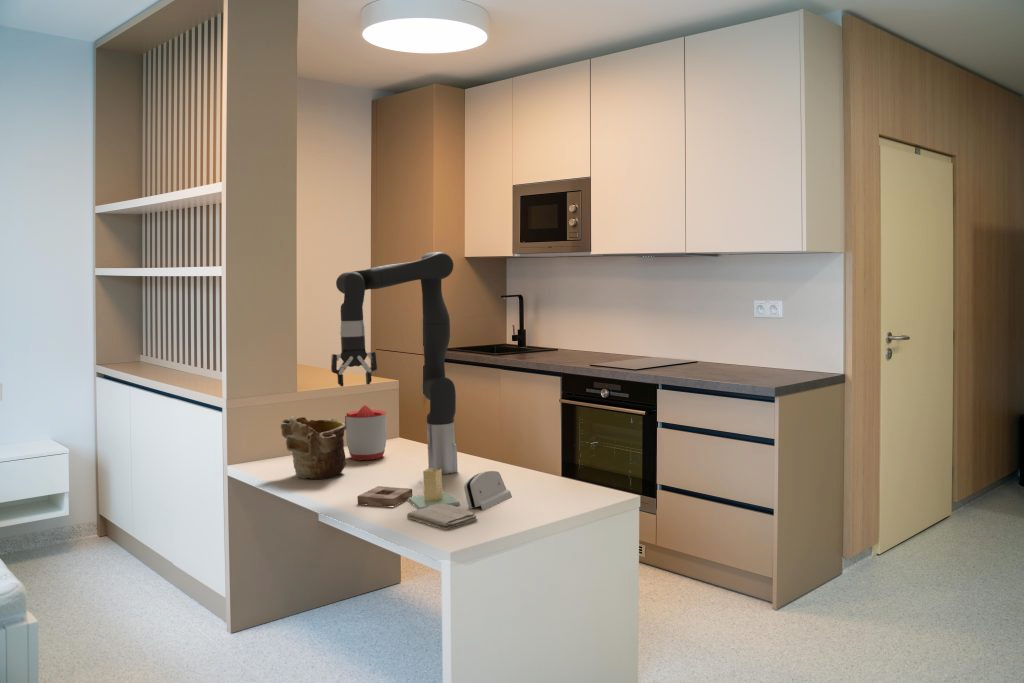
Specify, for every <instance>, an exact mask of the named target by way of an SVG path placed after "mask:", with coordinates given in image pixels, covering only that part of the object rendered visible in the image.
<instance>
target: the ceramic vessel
mask: <svg viewBox="0 0 1024 683" xmlns="http://www.w3.org/2000/svg"><path fill="white" fill-rule="evenodd" d="M345 428H346V424H345V423H344V422H343V421H339V420H338V419H334V418H329V419H328V418H325V419H322V418H321V419H316V420H315V419H310V420H308V419H307V418H306V417H304V416H302V417H295V415H294V416H293V415H292V416H291V417H290V418H288V419H283V420H282V421H281V423H280V430H281V436H282V437H283V438H284V439H286V440H285V441H286V442H285V445H286V450H287V451H289V452H292V462H293V468H294V470H295V471H294V472H295V474H296V475H297V477H298V478H300V479H307V478H310V479H309V480H312V479H313V480H314V479H316V480H321V479H322V478H326V479H329V478H333V477H335V476H337V475H340V474H341V473H342V472H343V471H344V469H345V467H346V464H347V460H346V453H345V448H344V447H345V446H344V445H345V443H344V440H345V439H344V436H345V432H346V429H345ZM322 480H323V479H322Z"/></svg>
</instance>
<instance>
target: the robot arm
mask: <svg viewBox="0 0 1024 683" xmlns="http://www.w3.org/2000/svg"><path fill="white" fill-rule="evenodd" d="M453 261H454V260H453V259H452V257H451V256H450V255H449V254H447V253H445V252H441V251H435V252H434V251H433V252H428V253H425V254H423V255H422V257H421V258H420V259H418V260H414V261H408V262H402V263H399V262H398V263H393V264H384V265H380V266H375V267H370V268H368V269H367V268H366V269H362V270H353V271H346V272H343V273H341V274H340V275H339V276H338V277H337V279H336V282H335V284H336V289H337V290H338V291H339V292H340V293H341V294H344V295H343V296H344V297H343V298H344V299H343V303H342V304H340V331H339V333H340V342H341V344H340V345H341V348H340V349H341V351H340V352H341V353H340V354H339V353H338V354H335V353H332V354H331V361H330V362H331V364H330V365H331V366H330V367H331V369H330V371H331V373H333V374H335V375H336V376H337V384H338V385H339V386H340V387H344V375H343V374H344V372H345V370H346V369H347V368H348V367H350V368H352V367H360V366H361V367H362V368H363V369H364V371H365V384H366V385H370V384H371V383H372V379H373V378H372V372H375V371H377V369H378V363H377V354H376V352H375V351H369V352H367V351H366V337H365V336H366V335H365V334H366V332H365V323H364V322H365V321H364V310H363V307H364V306H363V305H364V301H365V295H366V294H365V292H366V291H367V290H368V291H369V290H378V289H379V290H380V289H383V288H389V287H392V286H396V285H401V284H404V283H405V284H406V283H410V282H413V281H420V284H421V296H422V300H421V302H422V303H421V304H422V305H421V306H422V338H423V359H424V364H423V376H422V378H423V379H422V392H423V395H424V397H425V399H427V400H429V413H428V414H427V415H426V432H427V433H426V434H427V456H428V458H427V460H428V461H427V462H428V464H427V465H428V468H438V469H441V470H442V474H444V475H450V474H449V473H451V474H454V473H457V472H456V471H458V446H457V445H458V444H456V443H455V441H456V440H455V415H456V409H457V408H456V406H457V405H456V400H457V396H456V395H457V394H456V387H455V383H454V382H453V381H452V380H451V379H450V378H448V377H446V370H445V359H446V354H447V351H448V348H449V345H450V344H449V343H450V339H451V324H450V322H451V321H450V314H449V312H448V309H447V306H446V303H445V300H444V297H443V292H442V291H443V290H442V280H444V279H446V278H447V277H449V276H450V275H451V274H452V273H453V270H454V262H453ZM367 357H368V359H370V366H369V365H368V363H366V361H365V360H366V359H367ZM340 359H341V360H342V363H341V364H340V366H339V368H338V364H337V363H338V361H339V360H340ZM428 468H427V469H428ZM453 472H454V473H453ZM458 472H459V471H458Z"/></svg>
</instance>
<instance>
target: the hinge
mask: <svg viewBox="0 0 1024 683" xmlns="http://www.w3.org/2000/svg"><path fill="white" fill-rule="evenodd" d="M501 475H502V474H501V473H500V472H499V471H496V470H487V471H482V472H479V473H477V474H475V475H473V476H471V477H470V478H469V479H468V480H467V481H466V482H465V483H464V485H463V489H464V492H465V498H466V501H467V506H468V509H473V508H477V507H478V508H479V507H481V510H482V511H485V510H487V509H490V508H492V507H494V506H496V505H497V504H500V503H502V502H505V501H506V500H507V499H510V498H512V497H513V495H512V493H511V491H510V490H509V489H507V487H506V485H505V482H504V480H503V478H502V476H501Z"/></svg>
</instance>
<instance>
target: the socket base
mask: <svg viewBox="0 0 1024 683" xmlns="http://www.w3.org/2000/svg"><path fill="white" fill-rule="evenodd" d="M413 495H414V494H413V488H406V487H394V486H379V485H378V486H375V487H373V488H371V489H370V490H367V491H365V492H363V493H361V494H359V495H357V505H359V504H367V505H366V506H371V505H378V506H377V507H383V506H395V505H397V504H398V505H400V504H402V503H404V502H406V501H408V500H407V499H408V498H410V497H412V496H413ZM413 497H414V496H413ZM405 500H406V501H405ZM403 501H404V502H403ZM401 502H402V503H401ZM399 503H400V504H399ZM398 505H397V506H398ZM395 507H396V506H395Z"/></svg>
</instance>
